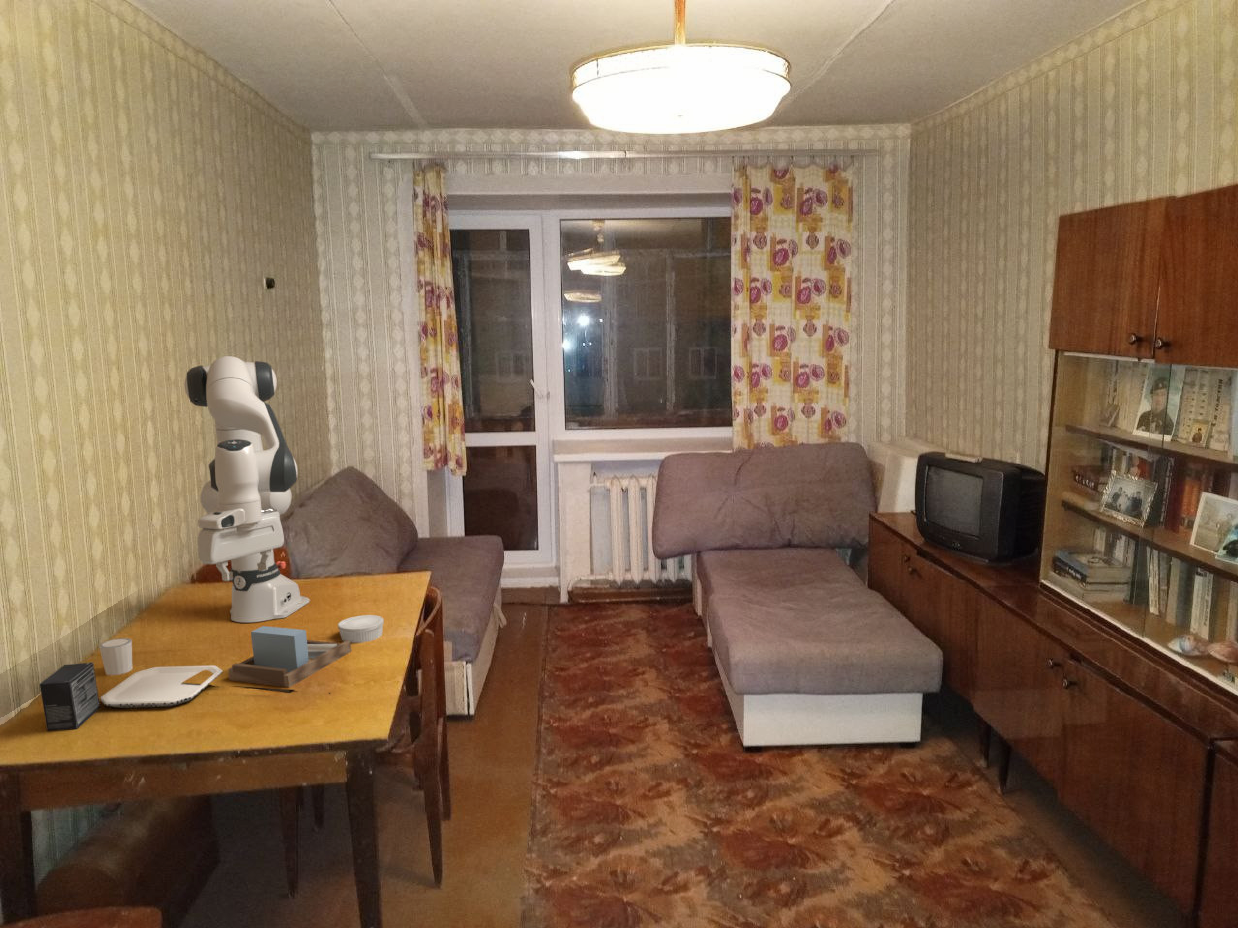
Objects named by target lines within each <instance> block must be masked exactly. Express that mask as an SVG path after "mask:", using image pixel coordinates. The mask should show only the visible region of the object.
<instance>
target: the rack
mask: <svg viewBox="0 0 1238 928" xmlns="http://www.w3.org/2000/svg"><path fill="white" fill-rule="evenodd" d="M307 644H337V646H336V647H334V648H332V649H330V650H329V651H327V652H325V653H323V654H321V655H320V656H318V657H316V658H314V659H310V660H309V662H307V663H305V664H303V665H302V666H300V667H298V668H296V669H294V670H293V671H291V672H289V673H287V669H281V668H273V667H264V666H255V665H254V656H251V657H250V658H247V659H245V660H243V661H242V662H241V661H240V662H239V663H234V664H231V667H230V668H228V670H227V671H228V678H229V681H233V682H240V683H241V682H242V683H251V684H256V685H258V684H259V685H265V686H275V687H281V688H270V687H269V688H268V687H258V686H257V687H253V686H252V687H251V686H239V685H237V686H236V685H234V687H237V688H242V689H243V688H244V689H252V690H259V691H260V690H261V691H267V692H268V691H269V692H276V693H284V694H292V693H293V692H295V691H296V689H288V688H291V687H293V686H295V685H296V684H298V683H300V682H301V681H303V680H304V679H306V678H308V677H310V676H312V675H314V674H316V673H317V672H319V671H321V670H323V668H325V667H327V666H329V665H331V664H332V663H334V662H336V661H338V660H340V659H341V658H343V657H344V656H346V655H348V654H350V653H352V643H351V642H350V641H343V642H342V643H341V642H331V641H320V640H310V639H307ZM282 687H284V688H285V689H284V688H282Z"/></svg>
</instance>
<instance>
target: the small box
mask: <svg viewBox="0 0 1238 928" xmlns="http://www.w3.org/2000/svg"><path fill="white" fill-rule="evenodd" d="M94 665H95V664H94V662H84V663H83V662H82V663H81V662H80V663H70V664H64V665H62V666H61V667H60V668H59V669H57V670H56V671H55V672H53V673H52V674H51V675H49V676H48V677H47V678H45V679H44V680H43V681H42V682H40V683H39V688H40V694H41V700H42V706H43V707H42V708H43V712H44V713H43V714H44V718H45V719H44V720H45V726H46V727H45V728H46V731H47V732H51V731H52V732H54V731H66V730H67V731H68V730H77V729H79V728H80V727H81V726H82V725H84V724H85V722H86V721H87V720H89V719H90V718H91V717H92V716H93V715H94V714H95V713H97V712H98V711H99V709H101V704H100V702H101V701H100V697H99V693H98V685H97V679H96V674H95V673H96V672H95V666H94Z"/></svg>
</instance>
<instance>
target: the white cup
mask: <svg viewBox="0 0 1238 928" xmlns="http://www.w3.org/2000/svg"><path fill="white" fill-rule="evenodd" d="M98 647H99V652H100V655H101V660H102V663H103V664H102V665H103V668H104V673H105V674H106V676H118V675H122V674H127V673H128V672H130V671H132V670H133V641H132V639H131V638H127V637H126V638H125V637H121V638H113V639H110V640H106V641H103V642H101V643H99V645H98Z"/></svg>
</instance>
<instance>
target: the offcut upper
mask: <svg viewBox="0 0 1238 928" xmlns="http://www.w3.org/2000/svg"><path fill="white" fill-rule="evenodd" d="M336 646H337V644H307V648H308V658H309V660H312V659H314V658H316V657H318V656H320V655H321V654H323V653H325V652H327V651H329V650H330V649H332V648H334V647H336Z"/></svg>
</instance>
